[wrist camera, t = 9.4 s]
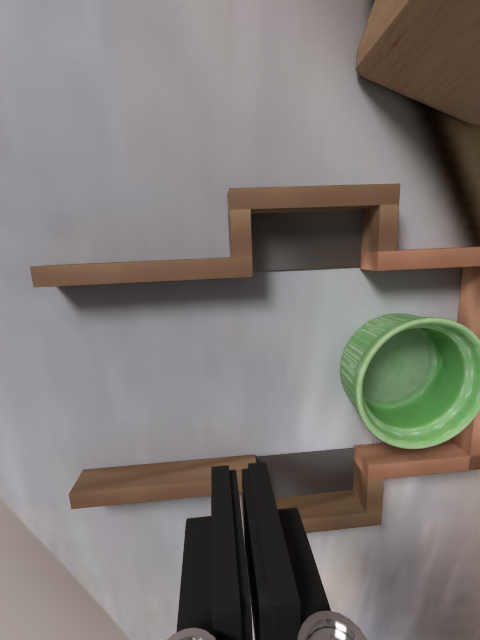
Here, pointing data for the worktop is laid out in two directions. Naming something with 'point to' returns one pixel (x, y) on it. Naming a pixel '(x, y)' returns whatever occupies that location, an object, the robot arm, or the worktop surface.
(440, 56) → the block
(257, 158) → the worktop surface
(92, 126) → the worktop surface
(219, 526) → the robot arm
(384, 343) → the ramekin
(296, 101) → the worktop surface
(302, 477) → the box
